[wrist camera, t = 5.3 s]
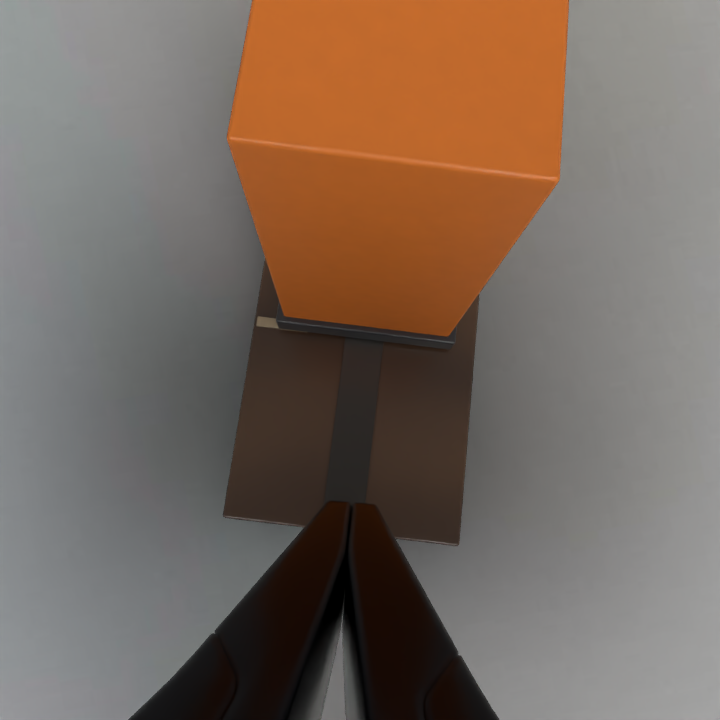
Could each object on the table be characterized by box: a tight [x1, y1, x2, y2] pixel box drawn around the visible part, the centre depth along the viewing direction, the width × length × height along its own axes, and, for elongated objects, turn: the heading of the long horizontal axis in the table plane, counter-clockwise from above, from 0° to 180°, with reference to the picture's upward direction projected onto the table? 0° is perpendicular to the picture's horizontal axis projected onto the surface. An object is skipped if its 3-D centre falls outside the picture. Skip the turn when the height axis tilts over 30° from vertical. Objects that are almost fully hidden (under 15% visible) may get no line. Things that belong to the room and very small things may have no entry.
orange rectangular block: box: [227, 0, 569, 349], centre depth 14 cm, size 4×5×10 cm
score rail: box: [223, 258, 479, 546], centre depth 19 cm, size 20×7×4 cm, turn 173°
